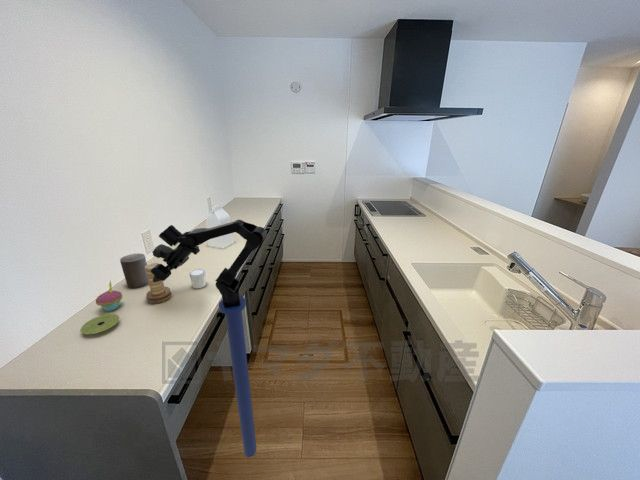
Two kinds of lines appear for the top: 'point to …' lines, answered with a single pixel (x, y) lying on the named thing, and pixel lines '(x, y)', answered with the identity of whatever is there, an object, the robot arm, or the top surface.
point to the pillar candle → (134, 270)
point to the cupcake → (109, 299)
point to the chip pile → (158, 296)
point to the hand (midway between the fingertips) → (160, 276)
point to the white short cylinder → (198, 278)
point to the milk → (216, 219)
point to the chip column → (155, 287)
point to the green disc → (99, 324)
